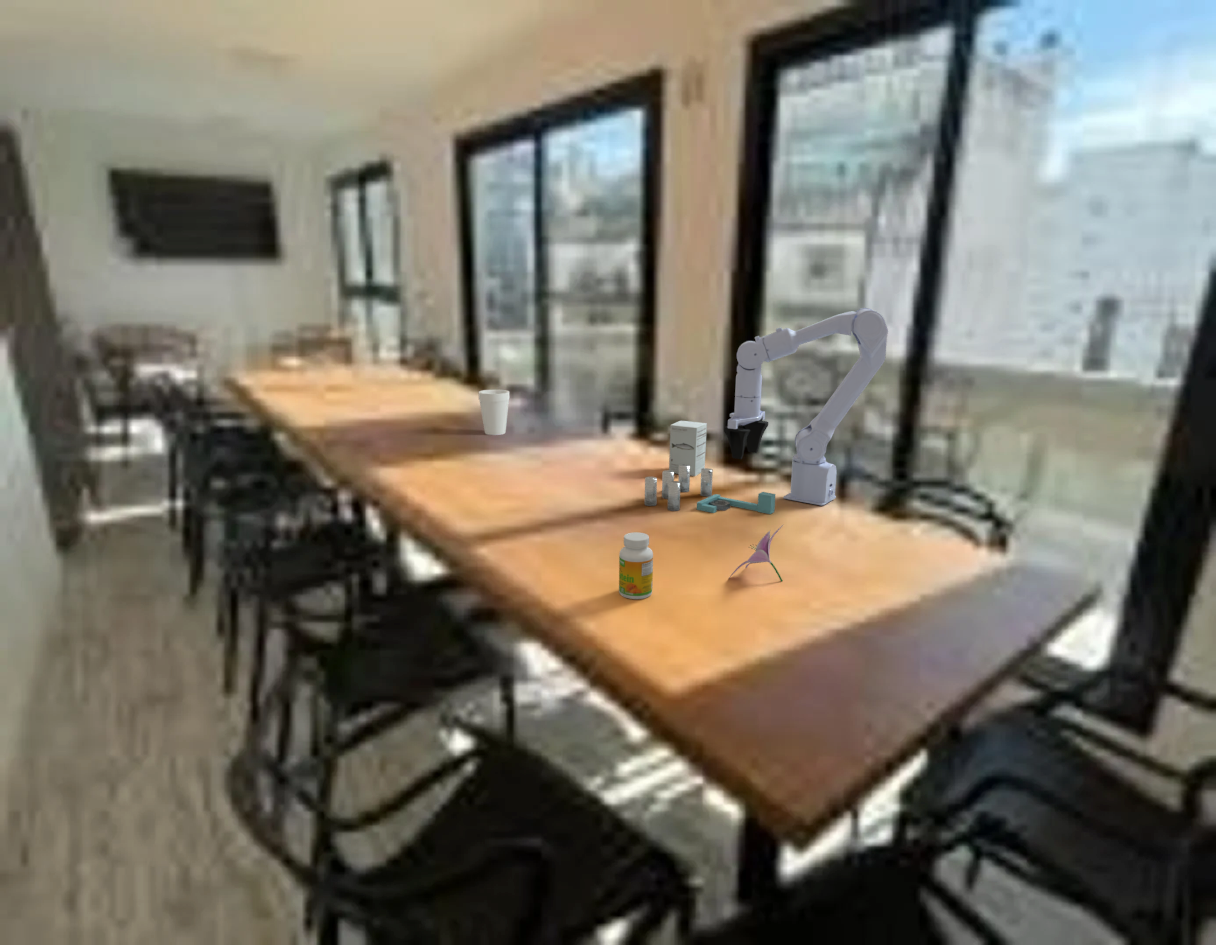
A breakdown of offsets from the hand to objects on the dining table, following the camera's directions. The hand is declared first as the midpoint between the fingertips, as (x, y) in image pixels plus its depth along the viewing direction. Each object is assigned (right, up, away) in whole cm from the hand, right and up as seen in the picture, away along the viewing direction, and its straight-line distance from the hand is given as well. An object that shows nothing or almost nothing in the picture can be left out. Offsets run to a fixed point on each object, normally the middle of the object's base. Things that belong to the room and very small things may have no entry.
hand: (745, 455), depth 182 cm
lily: (-6, -22, -46) cm, 51 cm away
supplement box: (-11, -4, +23) cm, 26 cm away
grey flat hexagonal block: (-7, -12, -7) cm, 15 cm away
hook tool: (-4, -12, -9) cm, 16 cm away
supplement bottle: (-27, -24, -53) cm, 64 cm away
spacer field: (-15, -10, -1) cm, 18 cm away
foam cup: (-66, +8, +69) cm, 96 cm away
